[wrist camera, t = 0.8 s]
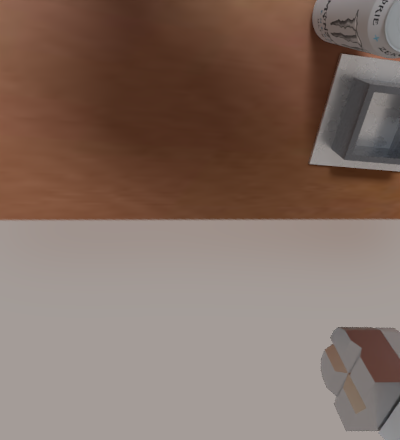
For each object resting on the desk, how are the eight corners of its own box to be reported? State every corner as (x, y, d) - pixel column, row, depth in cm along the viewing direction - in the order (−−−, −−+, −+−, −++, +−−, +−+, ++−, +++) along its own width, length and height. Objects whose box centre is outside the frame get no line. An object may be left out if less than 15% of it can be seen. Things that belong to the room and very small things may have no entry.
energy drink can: (299, 6, 42) (366, 11, 29) (347, -32, 40) (439, -45, 28) (323, 53, 45) (393, 76, 32) (369, 18, 43) (461, 28, 30)
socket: (338, 52, 45) (358, 58, 41) (440, 66, 48) (469, 73, 43) (306, 161, 52) (320, 176, 48) (397, 168, 54) (418, 183, 50)
